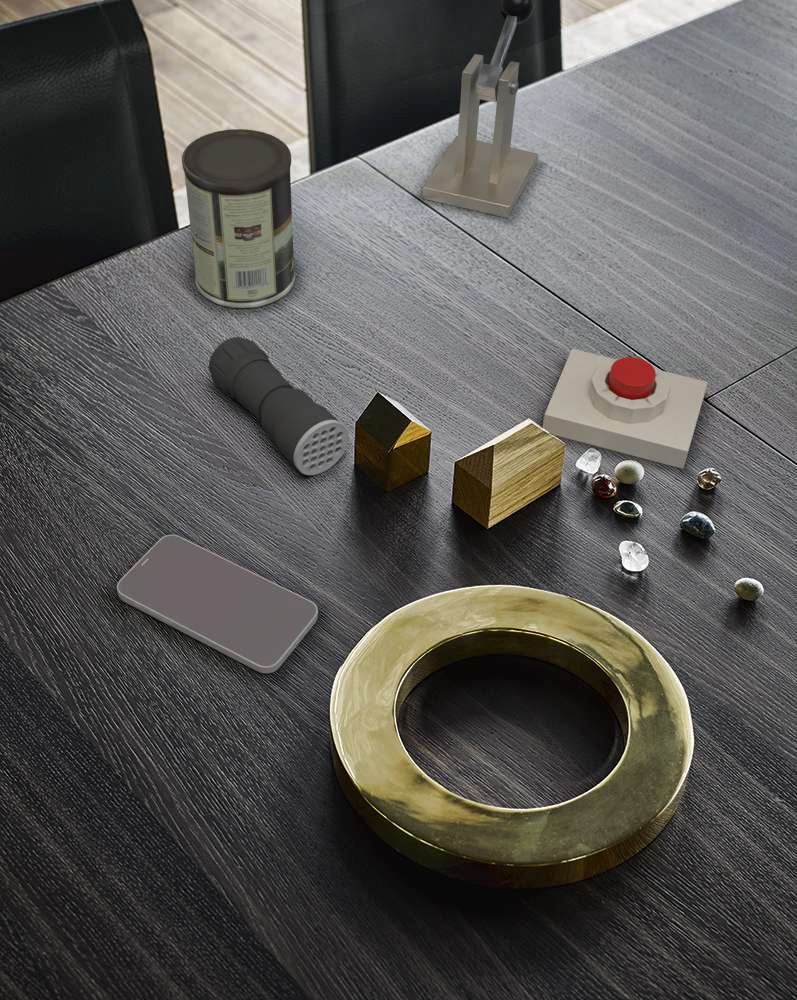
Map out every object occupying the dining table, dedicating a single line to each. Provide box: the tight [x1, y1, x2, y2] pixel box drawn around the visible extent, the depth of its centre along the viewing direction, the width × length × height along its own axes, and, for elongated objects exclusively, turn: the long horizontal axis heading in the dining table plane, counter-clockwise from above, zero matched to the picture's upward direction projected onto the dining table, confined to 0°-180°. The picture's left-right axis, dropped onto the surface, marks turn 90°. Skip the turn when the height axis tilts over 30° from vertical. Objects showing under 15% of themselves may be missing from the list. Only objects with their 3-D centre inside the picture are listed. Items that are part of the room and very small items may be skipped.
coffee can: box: [181, 128, 296, 309], centre depth 123 cm, size 10×10×14 cm
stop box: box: [542, 348, 709, 470], centre depth 114 cm, size 13×10×4 cm
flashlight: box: [208, 336, 350, 476], centre depth 111 cm, size 15×5×5 cm, turn 37°
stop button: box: [608, 356, 656, 400], centre depth 112 cm, size 4×4×2 cm
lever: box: [476, 0, 535, 103], centre depth 135 cm, size 13×4×4 cm, turn 160°
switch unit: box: [422, 53, 539, 219], centre depth 138 cm, size 12×10×14 cm
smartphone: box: [116, 534, 319, 674], centre depth 98 cm, size 7×1×15 cm
